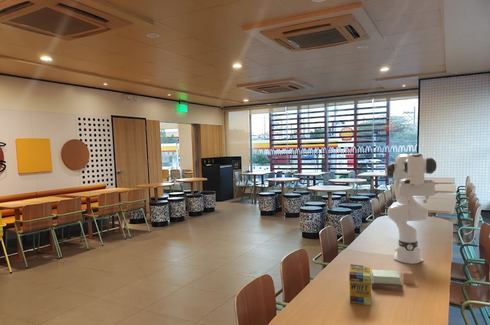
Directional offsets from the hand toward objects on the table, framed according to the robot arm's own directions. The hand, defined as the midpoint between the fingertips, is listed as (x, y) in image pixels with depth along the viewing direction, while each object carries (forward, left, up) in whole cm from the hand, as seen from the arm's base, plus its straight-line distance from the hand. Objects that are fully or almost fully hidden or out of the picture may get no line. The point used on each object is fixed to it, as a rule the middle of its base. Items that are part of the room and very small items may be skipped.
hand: (416, 203), depth 196 cm
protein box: (+33, -35, -46) cm, 67 cm away
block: (+7, -7, -46) cm, 47 cm away
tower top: (+15, -20, -43) cm, 50 cm away
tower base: (+15, -20, -47) cm, 53 cm away
